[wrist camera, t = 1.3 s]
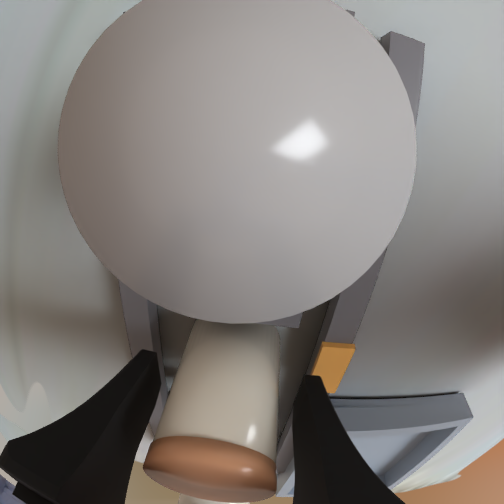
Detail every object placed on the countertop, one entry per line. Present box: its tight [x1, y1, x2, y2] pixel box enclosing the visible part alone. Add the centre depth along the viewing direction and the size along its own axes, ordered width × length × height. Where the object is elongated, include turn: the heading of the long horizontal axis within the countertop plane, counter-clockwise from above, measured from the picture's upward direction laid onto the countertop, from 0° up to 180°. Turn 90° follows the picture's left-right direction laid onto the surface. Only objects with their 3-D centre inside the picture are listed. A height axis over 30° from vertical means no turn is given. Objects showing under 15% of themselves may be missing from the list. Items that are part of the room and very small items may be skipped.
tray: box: [276, 393, 473, 497], centre depth 16 cm, size 11×13×2 cm
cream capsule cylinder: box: [58, 0, 417, 324], centre depth 6 cm, size 4×4×7 cm
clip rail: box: [118, 10, 425, 473], centre depth 12 cm, size 10×26×2 cm, turn 174°
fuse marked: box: [143, 319, 280, 503], centre depth 10 cm, size 4×4×7 cm
